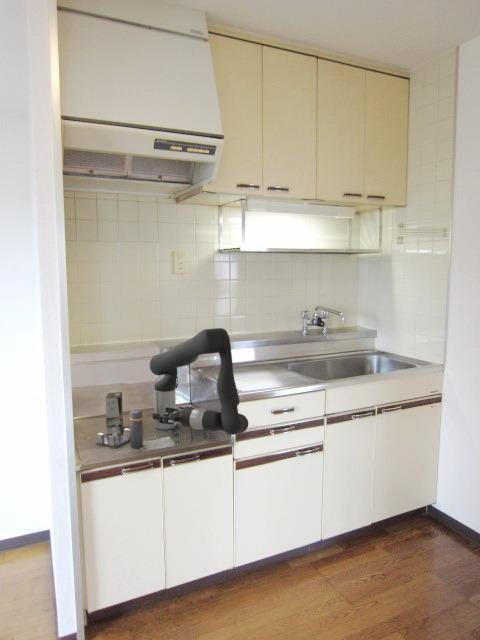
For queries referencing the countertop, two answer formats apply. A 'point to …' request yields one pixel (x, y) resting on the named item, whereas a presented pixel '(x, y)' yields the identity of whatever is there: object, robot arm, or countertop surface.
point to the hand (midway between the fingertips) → (159, 413)
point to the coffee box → (114, 412)
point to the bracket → (114, 438)
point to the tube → (136, 429)
